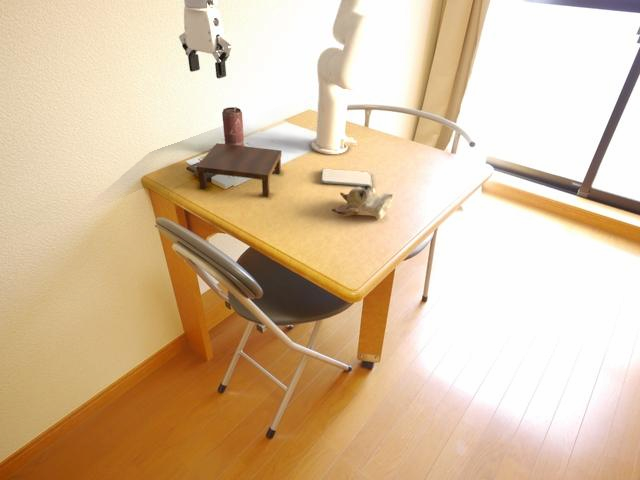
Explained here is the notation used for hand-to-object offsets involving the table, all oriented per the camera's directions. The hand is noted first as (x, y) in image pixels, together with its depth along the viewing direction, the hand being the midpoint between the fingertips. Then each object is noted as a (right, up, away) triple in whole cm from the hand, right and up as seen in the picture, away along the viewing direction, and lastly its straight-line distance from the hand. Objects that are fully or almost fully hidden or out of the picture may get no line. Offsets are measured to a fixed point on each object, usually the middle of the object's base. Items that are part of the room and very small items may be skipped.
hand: (208, 73), depth 111 cm
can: (+2, -16, +24) cm, 29 cm away
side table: (+8, -28, +8) cm, 30 cm away
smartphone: (+39, -27, +12) cm, 49 cm away
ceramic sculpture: (+42, -39, -3) cm, 57 cm away
